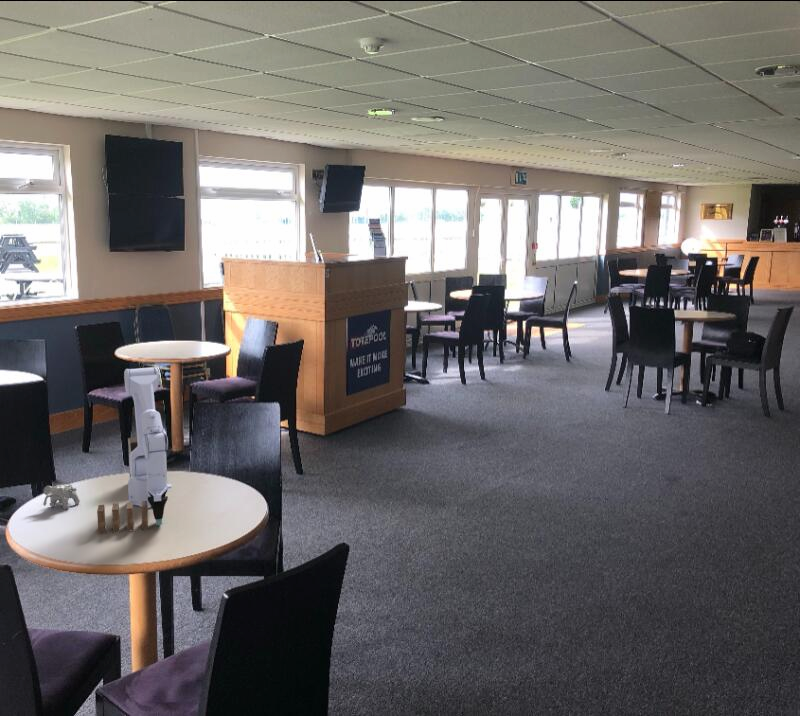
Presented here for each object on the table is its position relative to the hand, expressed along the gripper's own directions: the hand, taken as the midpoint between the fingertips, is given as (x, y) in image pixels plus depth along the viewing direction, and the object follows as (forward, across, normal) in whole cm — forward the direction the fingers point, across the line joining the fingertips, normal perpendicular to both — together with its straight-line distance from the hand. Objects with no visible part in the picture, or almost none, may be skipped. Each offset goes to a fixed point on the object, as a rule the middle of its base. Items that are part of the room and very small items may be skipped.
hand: (158, 515), depth 226 cm
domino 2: (+3, 0, +12) cm, 12 cm away
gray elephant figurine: (+3, +21, +30) cm, 36 cm away
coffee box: (+3, +37, +5) cm, 38 cm away
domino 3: (+3, 0, +8) cm, 9 cm away
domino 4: (+3, 0, +4) cm, 5 cm away
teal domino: (+2, 0, 0) cm, 2 cm away
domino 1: (+3, 0, +16) cm, 16 cm away
